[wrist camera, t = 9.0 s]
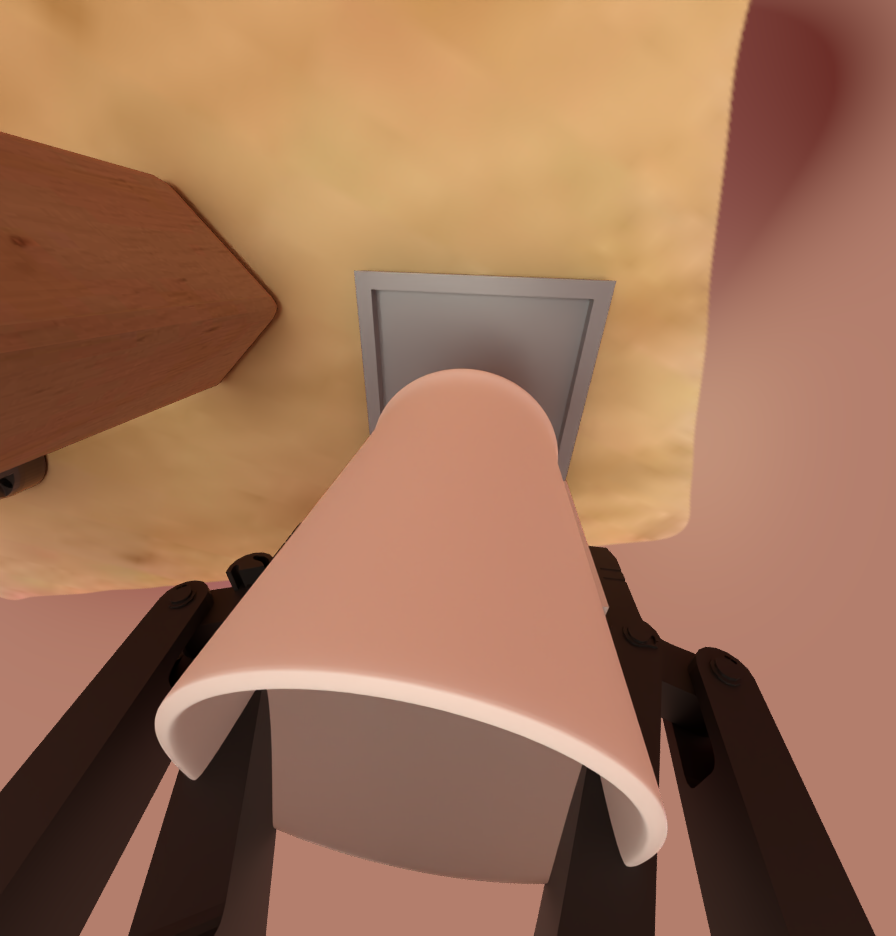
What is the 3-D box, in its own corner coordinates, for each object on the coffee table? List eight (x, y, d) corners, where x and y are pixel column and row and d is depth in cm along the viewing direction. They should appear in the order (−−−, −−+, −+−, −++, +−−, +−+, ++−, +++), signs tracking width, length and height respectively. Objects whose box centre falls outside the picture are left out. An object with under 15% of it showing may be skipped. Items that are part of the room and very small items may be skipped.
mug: (562, 568, 18) (644, 944, 8) (415, 574, 20) (330, 887, 10) (552, 349, 13) (775, 669, 2) (349, 385, 15) (-5, 656, 4)
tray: (381, 489, 32) (376, 500, 30) (363, 270, 22) (354, 270, 21) (552, 506, 30) (555, 518, 29) (607, 280, 21) (616, 281, 20)
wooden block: (288, 307, 24) (-199, 391, 7) (220, 387, 28) (-196, 564, 11) (164, 170, 21) (-1271, -273, 4) (107, 283, 25) (-727, 308, 8)
